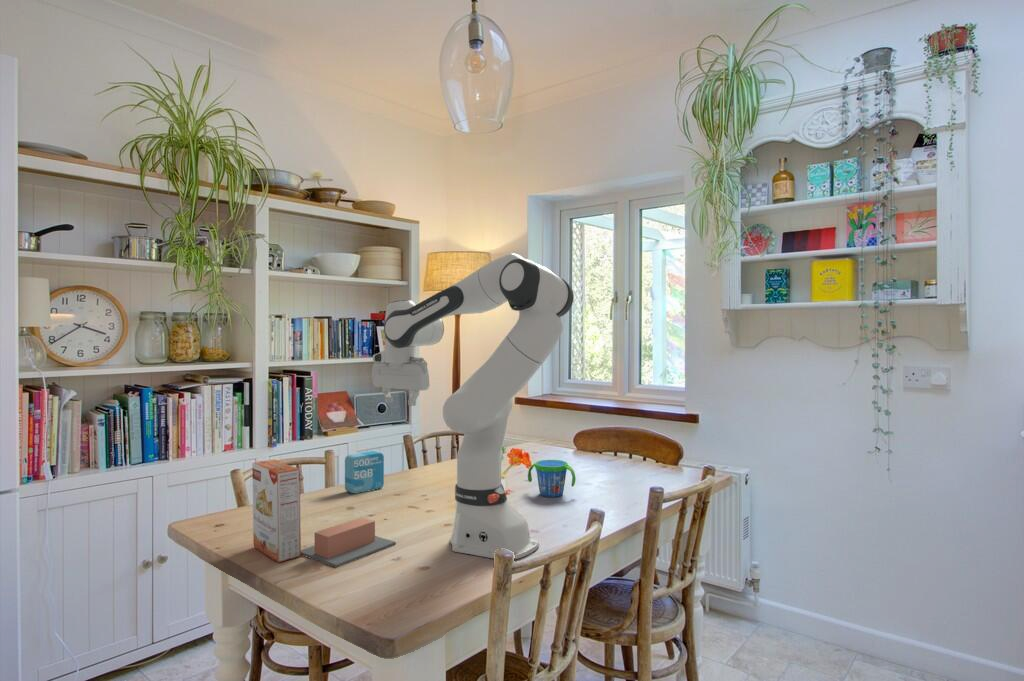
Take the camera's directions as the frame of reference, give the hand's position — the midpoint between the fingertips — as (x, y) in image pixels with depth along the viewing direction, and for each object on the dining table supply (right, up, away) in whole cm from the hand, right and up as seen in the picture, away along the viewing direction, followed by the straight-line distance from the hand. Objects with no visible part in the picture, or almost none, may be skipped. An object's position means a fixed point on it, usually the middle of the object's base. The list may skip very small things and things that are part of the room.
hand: (400, 404), depth 178 cm
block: (-12, -29, -36) cm, 48 cm away
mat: (-7, -32, -30) cm, 44 cm away
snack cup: (+45, -31, +19) cm, 58 cm away
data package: (-16, -31, +23) cm, 42 cm away
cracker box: (-24, -32, -32) cm, 51 cm away
